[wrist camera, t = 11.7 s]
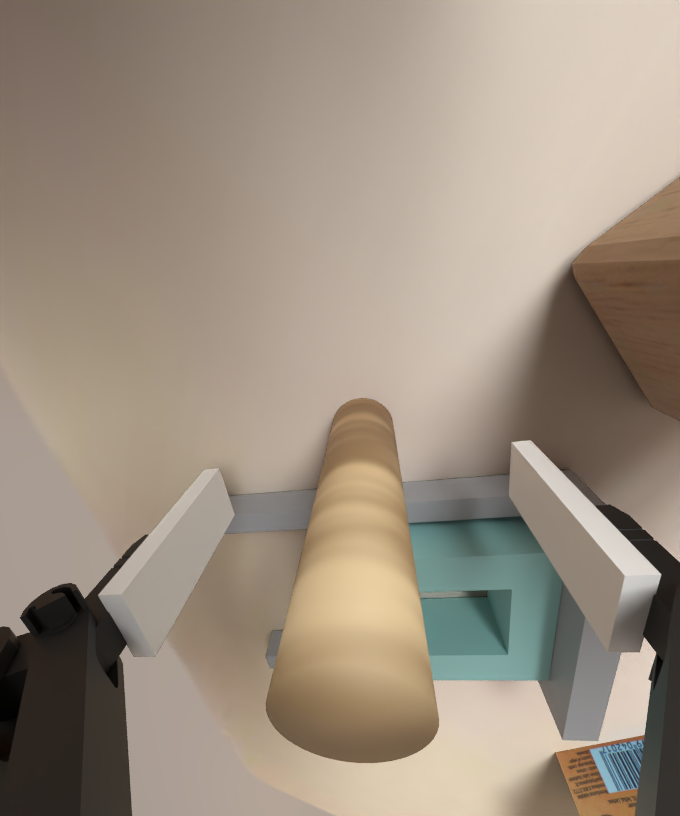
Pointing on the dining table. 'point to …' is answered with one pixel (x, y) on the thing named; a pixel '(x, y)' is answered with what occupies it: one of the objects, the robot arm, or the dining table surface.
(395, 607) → the dowel
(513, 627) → the teal square ring
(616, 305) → the block
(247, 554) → the dining table surface
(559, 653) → the track
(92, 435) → the dining table surface
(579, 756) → the milk carton
